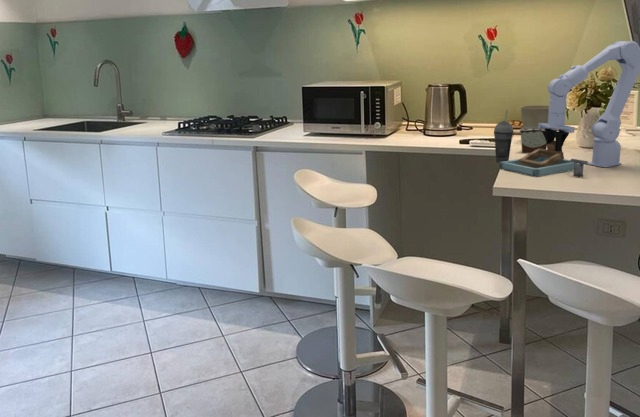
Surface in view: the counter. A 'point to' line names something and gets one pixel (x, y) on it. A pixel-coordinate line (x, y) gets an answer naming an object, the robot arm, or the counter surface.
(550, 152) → the frame
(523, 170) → the tray
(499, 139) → the beverage cup
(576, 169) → the stake
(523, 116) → the plant pot
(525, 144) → the food container
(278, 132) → the counter surface
